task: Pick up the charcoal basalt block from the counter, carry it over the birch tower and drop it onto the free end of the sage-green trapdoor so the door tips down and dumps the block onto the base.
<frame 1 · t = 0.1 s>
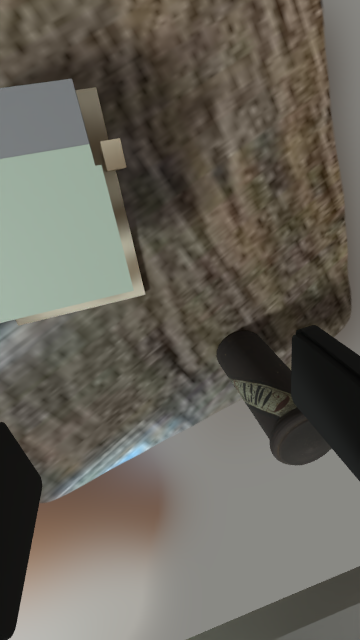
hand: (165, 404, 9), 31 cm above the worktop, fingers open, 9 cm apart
container: (239, 349, 50), on the worktop
frame: (53, 220, 34), on the worktop
trapdoor: (31, 214, 26), point 9 cm above the worktop, hinge at 0.0°
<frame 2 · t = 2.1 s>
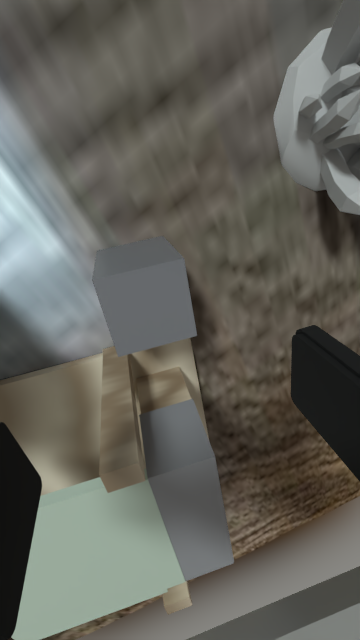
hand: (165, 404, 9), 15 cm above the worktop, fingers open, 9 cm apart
crystal: (333, 109, 21), on the worktop
basalt block: (138, 274, 23), on the worktop
frame: (89, 433, 28), on the worktop
trapdoor: (106, 520, 21), point 9 cm above the worktop, hinge at 0.0°
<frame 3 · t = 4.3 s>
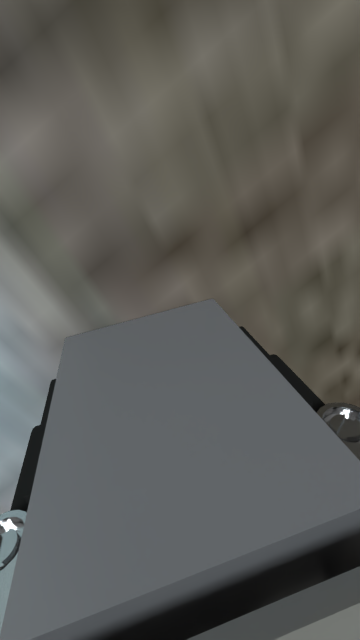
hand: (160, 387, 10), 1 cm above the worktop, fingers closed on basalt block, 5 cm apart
basalt block: (157, 375, 11), on the worktop, touching gripper
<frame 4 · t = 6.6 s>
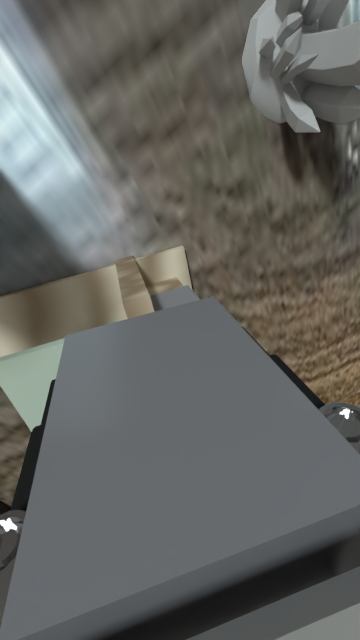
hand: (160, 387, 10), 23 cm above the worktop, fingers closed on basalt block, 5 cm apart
crystal: (288, 54, 27), on the worktop
basalt block: (157, 373, 11), point 23 cm above the worktop, touching gripper
frame: (105, 339, 35), on the worktop
trapdoor: (125, 380, 27), point 9 cm above the worktop, hinge at 0.0°
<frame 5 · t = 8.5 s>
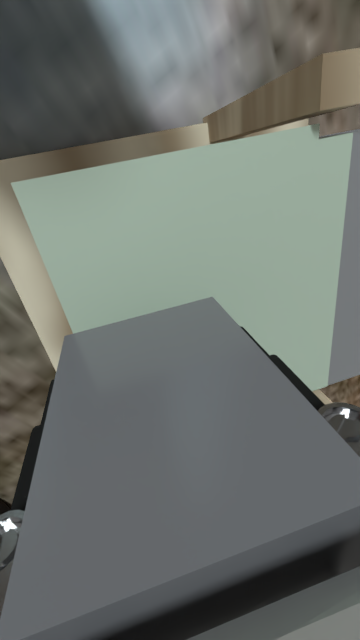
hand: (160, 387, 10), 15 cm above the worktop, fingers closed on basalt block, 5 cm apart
basalt block: (156, 374, 11), point 14 cm above the worktop, touching gripper
frame: (170, 258, 23), on the worktop
trapdoor: (236, 290, 16), point 9 cm above the worktop, hinge at 0.0°
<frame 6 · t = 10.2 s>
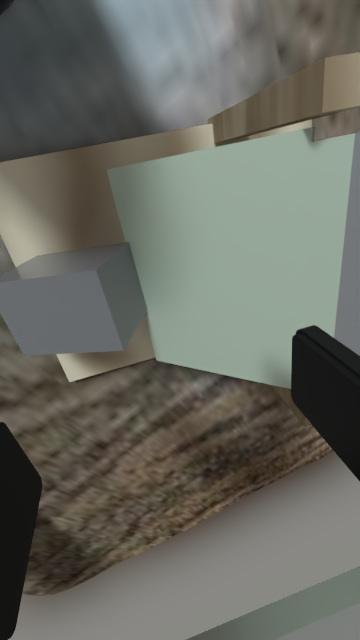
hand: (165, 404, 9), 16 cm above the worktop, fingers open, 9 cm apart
basalt block: (126, 293, 18), point 6 cm above the worktop, tilted 114°, touching frame, trapdoor
frame: (175, 256, 24), on the worktop
trapdoor: (264, 269, 18), point 7 cm above the worktop, hinge at -42.9°, touching basalt block
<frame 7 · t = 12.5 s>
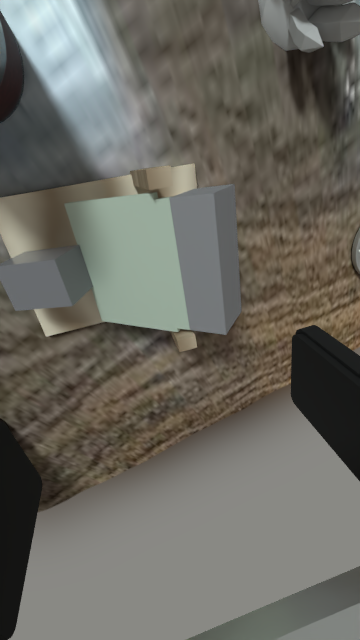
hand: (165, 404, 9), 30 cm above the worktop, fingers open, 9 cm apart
basalt block: (75, 274, 31), point 6 cm above the worktop, tilted 115°, touching frame, trapdoor
frame: (115, 254, 37), on the worktop
trapdoor: (156, 261, 31), point 7 cm above the worktop, hinge at -42.6°, touching basalt block
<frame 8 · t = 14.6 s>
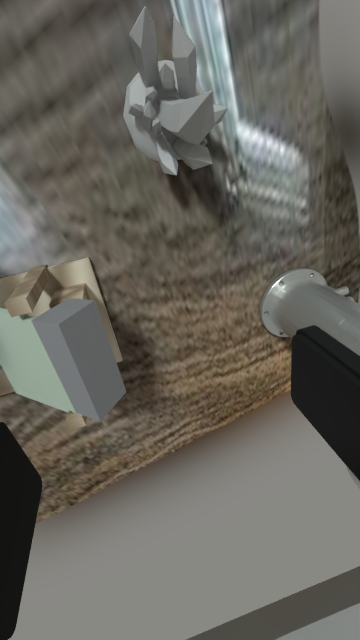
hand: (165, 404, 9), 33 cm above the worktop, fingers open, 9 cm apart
crystal: (163, 111, 34), on the worktop
frame: (28, 333, 41), on the worktop
trapdoor: (48, 352, 36), point 7 cm above the worktop, hinge at -42.0°, touching basalt block
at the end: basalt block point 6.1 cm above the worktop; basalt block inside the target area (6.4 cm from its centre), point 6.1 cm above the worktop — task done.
